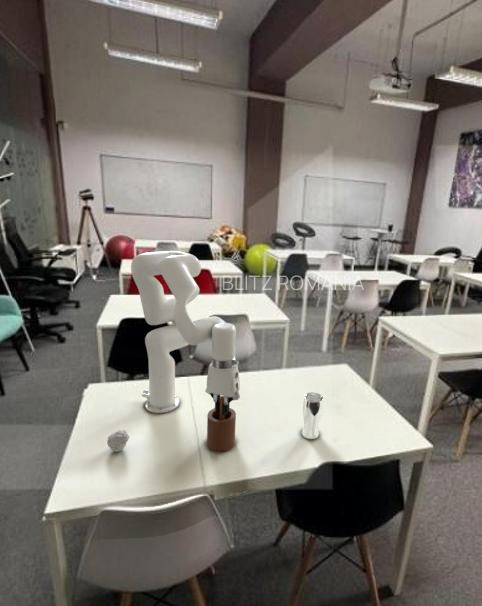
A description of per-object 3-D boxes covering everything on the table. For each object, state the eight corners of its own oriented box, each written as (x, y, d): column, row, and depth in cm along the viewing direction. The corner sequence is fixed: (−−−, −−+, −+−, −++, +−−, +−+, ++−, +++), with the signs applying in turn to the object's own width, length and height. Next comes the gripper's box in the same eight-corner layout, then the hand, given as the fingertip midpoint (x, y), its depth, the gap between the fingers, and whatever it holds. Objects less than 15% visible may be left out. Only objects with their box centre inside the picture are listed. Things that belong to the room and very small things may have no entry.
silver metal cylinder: (321, 431, 139) (325, 394, 136) (316, 442, 133) (320, 404, 129) (303, 426, 141) (307, 390, 138) (298, 437, 135) (301, 399, 131)
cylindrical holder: (201, 447, 126) (202, 418, 123) (215, 432, 134) (216, 404, 132) (226, 454, 123) (227, 425, 120) (239, 438, 132) (240, 410, 129)
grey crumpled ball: (121, 458, 118) (120, 439, 116) (102, 453, 119) (101, 434, 118) (134, 447, 123) (133, 428, 122) (116, 442, 125) (115, 423, 123)
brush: (213, 436, 126) (213, 398, 123) (218, 429, 130) (219, 393, 127) (223, 439, 125) (225, 401, 122) (229, 432, 129) (230, 395, 126)
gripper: (250, 361, 123) (248, 412, 127) (207, 352, 127) (206, 401, 131) (240, 370, 116) (238, 424, 120) (195, 361, 120) (195, 412, 124)
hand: (222, 412), depth 126 cm, fingers closed on brush
